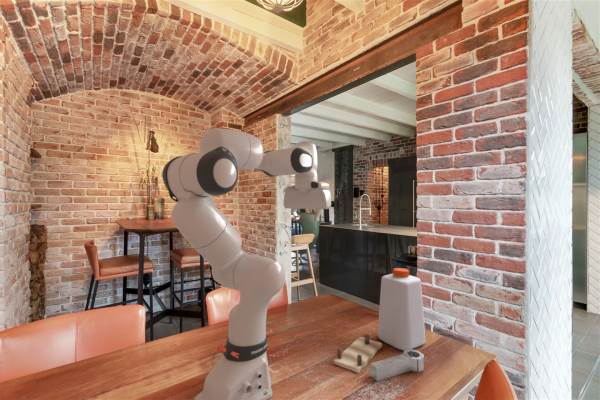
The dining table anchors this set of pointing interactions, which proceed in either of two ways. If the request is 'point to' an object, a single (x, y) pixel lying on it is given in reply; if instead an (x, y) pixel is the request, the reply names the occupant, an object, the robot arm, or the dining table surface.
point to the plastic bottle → (401, 310)
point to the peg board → (357, 354)
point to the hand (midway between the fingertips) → (306, 220)
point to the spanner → (397, 365)
